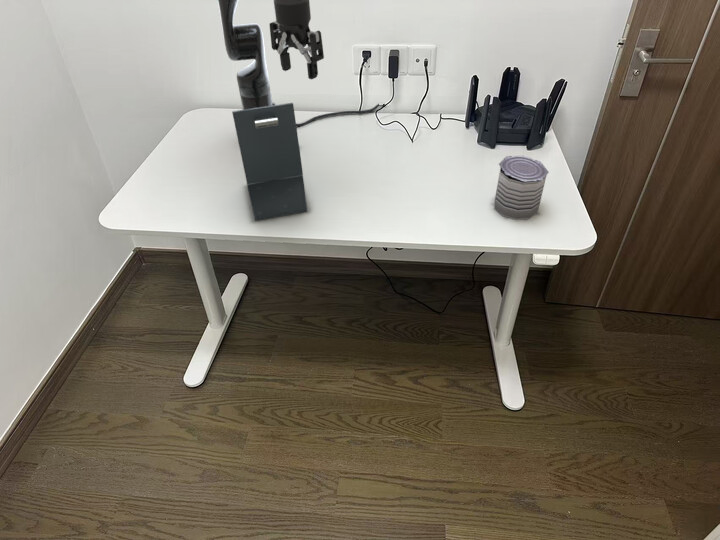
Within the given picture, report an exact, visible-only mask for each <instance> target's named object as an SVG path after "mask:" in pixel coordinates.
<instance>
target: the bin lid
mask: <svg viewBox="0 0 720 540" xmlns="http://www.w3.org/2000/svg"><path fill="white" fill-rule="evenodd" d="M295 113H296V112H295V106H294V102H287V103H279V104H275V105H272V106H265V107H258V108H251V109H245V110H243V109H239V110H232V111H231V114H232V118H233V123H234V127H235V131H236V133H235V134H236V136H237V143H238V146H239V151H240V156H241V160H242V166H243V170H244V171H243V172H244V176H245V181H246V185H247V184H251V183H257V182H263V181H269V180H275V179H281V178H287V177H293V176H299V175H303V176H304V172H303V164H302V158H301V151H300V143H299V135H298V129H297V126H296V124H297V122H296V114H295Z"/></svg>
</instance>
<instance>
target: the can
mask: <svg viewBox="0 0 720 540" xmlns="http://www.w3.org/2000/svg"><path fill="white" fill-rule="evenodd" d="M498 166H499V174H498V180H497V183H496V191H495V196H494V205H493V210H495V211H496V212H497V213H498V214H499V215H500V216H501V217H504V218H507V219H510V220H515V221H520V220H521V221H522V220H530V219H532V218H533V217H534V216H536V215H537V214H538V212H539V208H540V204H541V201H542V196H543V192H544V188H545V183H546V179H547V176H548V174H550V173H549V170H548V169H547V167H545V165H544V164H543V163H542V162H541V161H539V160H537V159H535V158H531V157H528V156H526V155H507V156H505V157H504V158H503V159H502V160H501V161H500V162H499V163H498Z"/></svg>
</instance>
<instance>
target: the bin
mask: <svg viewBox="0 0 720 540" xmlns="http://www.w3.org/2000/svg"><path fill="white" fill-rule="evenodd" d="M246 186H247V190H248V195H249V200H250V205H251V210H252V214H253V219H254V222H258V221H262V220H263V221H264V220H267V219H274V218H279V217H284V216H289V215H290V216H291V215H295V214H300V213H307V212H308V207H307V206H308V205H307V197H306V190H305V181H304V174H303V175H299V176H293V177H287V178H281V179H275V180H269V181H263V182H257V183H251V184H247V183H246Z"/></svg>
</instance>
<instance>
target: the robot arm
mask: <svg viewBox="0 0 720 540" xmlns="http://www.w3.org/2000/svg"><path fill="white" fill-rule="evenodd" d="M239 1H240V0H217V3H218V10H219V16H220V17H219V18H220V23H221V29H222V36H223V41H224V48H225V51H226V55H227V56H228V57H227V58H229V60H230V61H233V62H238V61H250V60H253V61H252V62H251V63H250V64H249V65H247V66H245V67H243V68H242V69H240V70H239V71H238V72H237V74H236V81H237V87H238V91H239V97H240V101H241V107H242V110H245V109H251V108H258V107H265V106H272V105H276V103H275V102H273V98H272V92H271V85H270V79H269V73H268V67H267V59H266V50H265V49H266V48H265V40H264V33H263V30H262V27H261V26H260V25H259V24H258V23H256V22H255V23H243V24H234V18H235V13H236V9H237V6H238V3H239ZM310 4H311V3H310V0H273V7H274V14H275V20H274V21H272V22H270V23H269V34H270V44H271V49H272V50H273V51H277V54H278V55H279V61H280V66H281V70H282V71H284V72H287V71H289V70H291V68H292V63H291V55H290V52H289V50H290V48H294V49H295V50H298V51H299V53H300V55H302V56H303V57H304V58H305V60H306V67H307V78H308V79H309V80H314V79H316V78H317V77H318V75H319V71H318V62H319V61H321V60H324V59H325V53H324V46H323V39H322V32H321V31H320V30H316V31H312V30H311V28H310V26H309V25H310V21H311V18H312V15H311V6H310ZM306 46H307V47H306ZM381 106H382V107H387V105H386V104H385V103H384V104H383V105H379V103H377V104H376V105H374V107H371V108H369V109H365V110H364V109H363V110H343V111H336V112H329V113H324V114H320V115H316V116H313V117H312V118H310V119H308V120H306V121H304V122H301V123H296V127H303V126H306V125H308V124H310V123H311V122H314V121H315V120H317V119H321V118H322V119H323V118H326V117H330V116H338V115H347V114H368V113H372V112H374V111H375V110H377V109H378V108H379V107H381Z"/></svg>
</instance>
